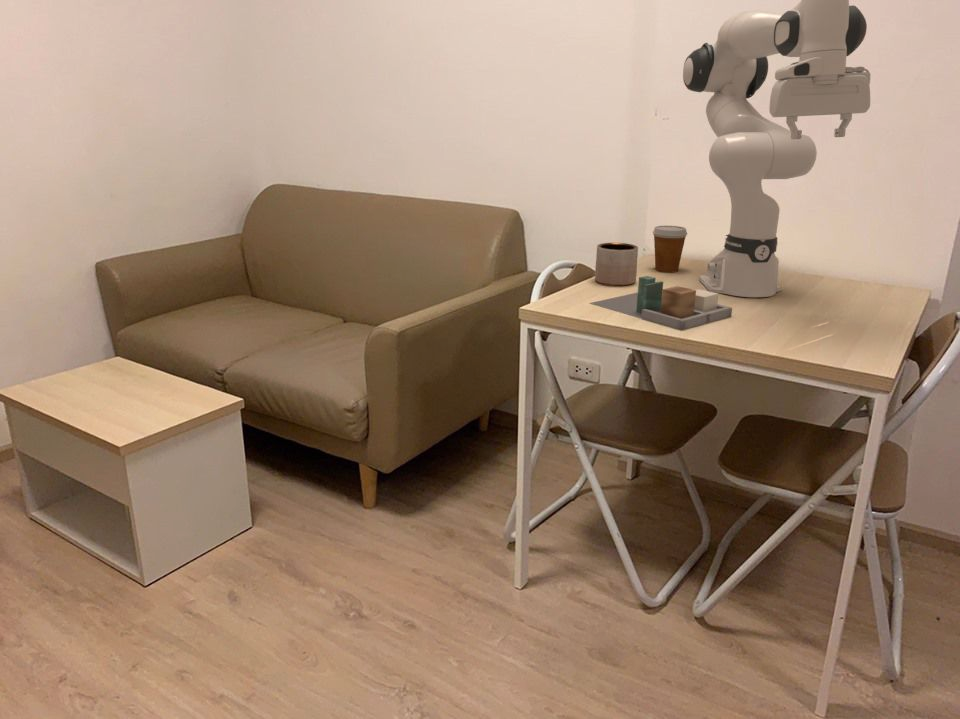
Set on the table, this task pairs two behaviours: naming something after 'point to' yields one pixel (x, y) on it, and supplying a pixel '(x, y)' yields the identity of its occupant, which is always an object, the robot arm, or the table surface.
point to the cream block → (705, 301)
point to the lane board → (629, 306)
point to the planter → (616, 264)
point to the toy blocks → (665, 298)
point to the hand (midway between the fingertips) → (817, 138)
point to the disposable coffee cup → (668, 247)
